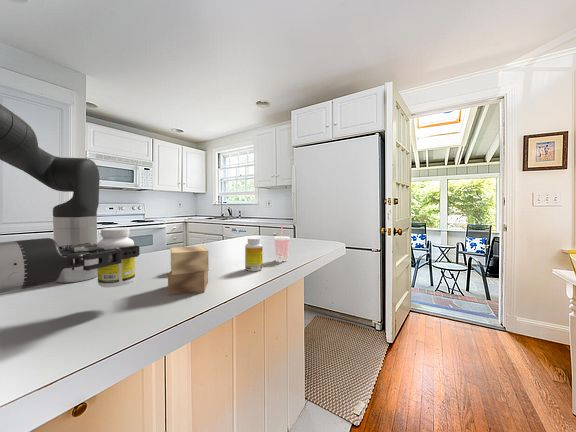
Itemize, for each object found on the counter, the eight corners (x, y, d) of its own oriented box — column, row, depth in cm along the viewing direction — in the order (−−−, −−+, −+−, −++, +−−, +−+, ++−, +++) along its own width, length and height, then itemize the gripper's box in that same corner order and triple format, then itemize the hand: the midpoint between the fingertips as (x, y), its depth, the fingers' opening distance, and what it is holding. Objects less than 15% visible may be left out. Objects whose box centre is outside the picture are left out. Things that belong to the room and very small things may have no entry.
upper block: (172, 274, 56) (171, 253, 56) (170, 267, 64) (170, 247, 63) (208, 271, 60) (208, 250, 60) (203, 264, 67) (203, 245, 67)
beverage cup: (285, 263, 89) (285, 224, 89) (270, 261, 92) (270, 223, 91) (292, 259, 95) (292, 223, 94) (278, 258, 98) (278, 222, 97)
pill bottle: (130, 276, 54) (129, 226, 54) (138, 283, 50) (138, 228, 50) (94, 282, 50) (93, 228, 49) (101, 290, 46) (99, 230, 45)
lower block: (168, 295, 57) (167, 274, 57) (176, 284, 65) (176, 265, 65) (204, 293, 59) (204, 272, 59) (208, 282, 67) (208, 264, 67)
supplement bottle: (264, 271, 79) (264, 238, 78) (246, 272, 77) (246, 239, 76) (260, 266, 84) (260, 236, 83) (243, 268, 82) (243, 237, 82)
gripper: (29, 246, 33) (149, 233, 48) (-4, 237, 40) (110, 228, 55) (31, 300, 34) (150, 271, 49) (-2, 282, 41) (111, 262, 55)
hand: (128, 248), depth 52 cm, fingers closed on pill bottle, 6 cm apart
